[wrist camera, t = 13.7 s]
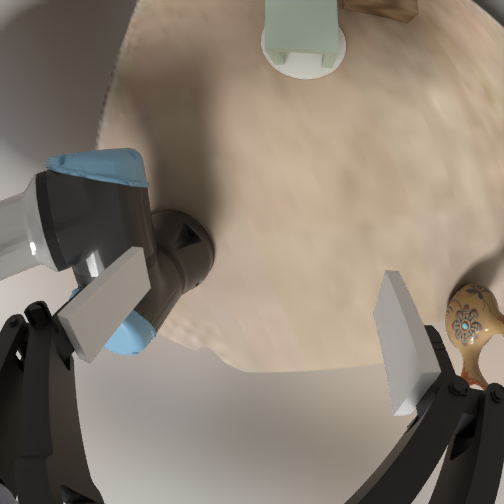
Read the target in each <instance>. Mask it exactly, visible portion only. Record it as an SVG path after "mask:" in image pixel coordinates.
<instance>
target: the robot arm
mask: <svg viewBox="0 0 504 504" xmlns="http://www.w3.org/2000/svg"><path fill="white" fill-rule="evenodd" d="M46 167H47V168H48V169H49V170H47V171H44V172H40V173H38V174H35V175H34V176H33V178H32V179H31V181H30V183H29V185H28V187H27V189H26V190H25V191H24V192H22V193H20V194H17V195H14V196H12V197H9V198H7V199H5V200H2V201H0V281H1V280H3V279H5V278H8V277H10V276H13V275H15V274H17V273H20V272H22V271H25V270H27V269H30V268H33V267H35V266H37V265H40V264H42V265H45V266H47V267H49V268H50V269H52V270H54V271H55V272H59V271H62V270H65V269H67V268H70V267H72V269H73V272H74V275H75V277H76V281H77V283H78V288H77V289H75V290H73V291H72V295H71V296H70V299H69V301H68V302H66V303H65V304H64V305H63V306H62V307H61V308H60V309H59V310H58V311H57V312H56V313H55V314H54V315H53V316H51V313H50V311H49V309H48V307H47V304H46V303H45V302H44V301H36V302H34V303H32V304H30V305H29V306H28V307H27V308H26V309H25V311H24V313H25V315H26V317H27V319H28V321H29V323H26V321H25V319H24V317H23V316H22V315H21V314H16V315H13V316H11V317H10V318H9V319H8V320H7V321H6V322H5V324H4V326H3V328H2V330H1V332H0V504H63V502H65V503H66V504H104V501H103V498H102V496H101V494H100V492H99V490H98V489H97V488H96V486H95V485H94V483H93V482H92V479H91V476H90V472H89V469H88V464H87V460H86V455H85V451H84V446H83V441H82V435H81V429H80V423H79V416H78V408H77V399H76V389H75V376H74V360H73V357H72V355H71V354H72V353H73V352H74V351H75V352H76V354H77V355H78V357H79V359H81V360H83V361H85V362H87V363H91V362H92V361H93V360H94V358H95V357H96V356H97V354H98V353H99V352H100V350H101V349H102V348H103V347H104V348H106V349H108V350H110V351H113V352H115V353H118V354H122V355H135V354H138V353H140V352H141V351H142V350H144V349H145V348H146V346H147V345H148V344H149V343H150V341H151V340H153V339H154V338H155V337H156V333H157V332H158V330H159V328H160V327H161V325H162V324H163V322H164V321H165V319H166V318H167V316H168V315H169V313H170V312H171V310H172V309H173V307H174V306H175V304H176V303H177V301H178V300H179V298H180V297H181V295H182V294H184V293H186V292H188V291H189V290H191V289H193V288H195V287H197V286H198V285H199V284H201V283H202V282H203V281H204V279H205V278H206V276H207V275H208V273H209V272H210V270H211V268H212V265H213V259H214V253H213V247H212V243H211V241H210V238H209V236H208V234H207V233H206V231H205V230H204V228H203V227H202V226H201V225H200V224H199V223H198V222H197V221H196V220H194V219H193V218H192V217H190V216H188V215H186V214H184V213H182V212H179V211H174V210H164V211H159V212H157V213H155V214H153V215H151V210H150V203H149V196H148V188H147V187H148V185H149V184H148V182H147V181H146V175H145V170H144V164H143V159H142V156H141V154H140V153H139V152H138V151H136V150H135V149H132V148H119V149H106V150H95V151H85V152H77V153H71V154H63V155H56V156H51V157H49V159H48V162H47V164H46ZM373 315H374V319H375V323H376V327H377V331H378V336H379V340H380V344H381V349H382V354H383V359H384V364H385V369H386V374H387V379H388V385H389V391H390V397H391V404H392V410H393V416H398V415H409V414H410V413H411V412H412V411H413V410H414V408H415V407H416V409H417V414H418V415H417V416H416V417H415V418H414V419H413V420H412V422H411V423H410V424H409V425H408V426H407V428H408V429H407V430H406V432H405V433H404V434H403V436H402V437H401V439H400V440H399V442H398V443H397V444H396V446H395V447H394V448H393V449H392V451H391V452H390V453H389V455H388V456H387V457H386V459H385V460H384V461H383V462H382V464H381V465H380V466H379V467H378V468H377V469H376V471H375V472H374V473H373V474H372V475H371V476H370V477H369V479H368V480H367V481H366V482H365V483H364V484H363V485H362V486H361V487H360V489H358V491H357V492H355V494H354V495H353V496H352V497H351V498H350V499H349V500H348V501H346V502H345V504H411V503H412V502H413V500H414V499H415V498H416V496H417V494H418V493H419V492H420V490H421V489H422V487H423V486H424V484H425V483H426V481H427V480H428V478H429V477H430V475H431V474H432V472H433V470H434V468H435V467H436V465H437V464H438V462H439V460H440V458H441V457H442V455H443V453H444V451H445V449H446V447H447V445H448V448H447V451H446V455H445V459H444V462H443V465H442V469H441V471H440V474H439V477H438V480H437V483H436V486H435V489H434V491H433V494H432V496H431V499H430V501H429V503H428V504H494V503H495V500H496V496H497V492H498V488H499V484H500V479H501V474H502V468H503V463H504V387H503V386H502V385H500V384H498V383H491V384H489V385H488V387H487V388H486V389H485V390H484V391H483V390H477V389H472V388H470V387H469V384H468V383H467V381H466V380H465V379H464V378H462V377H460V376H458V375H456V374H455V371H454V369H453V366H452V363H451V361H450V358H449V356H448V353H447V351H446V350H445V349H446V348H445V346H444V344H443V341H442V339H441V336H440V334H439V333H438V332H437V330H436V329H435V328H434V327H433V326H432V325H423V322H422V320H421V318H420V315H419V313H418V311H417V309H416V306H415V304H414V302H413V300H412V298H411V295H410V293H409V291H408V289H407V287H406V285H405V283H404V281H403V279H402V277H401V275H400V273H399V271H390V270H385V274H384V277H383V281H382V285H381V288H380V292H379V295H378V298H377V302H376V305H375V308H374V311H373ZM17 350H18V352H19V353H20V355H21V356H22V357H21V359H20V360H19V359H18V357H17V356H16V352H17ZM16 496H18V501H19V502H18V501H16Z"/></svg>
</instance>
